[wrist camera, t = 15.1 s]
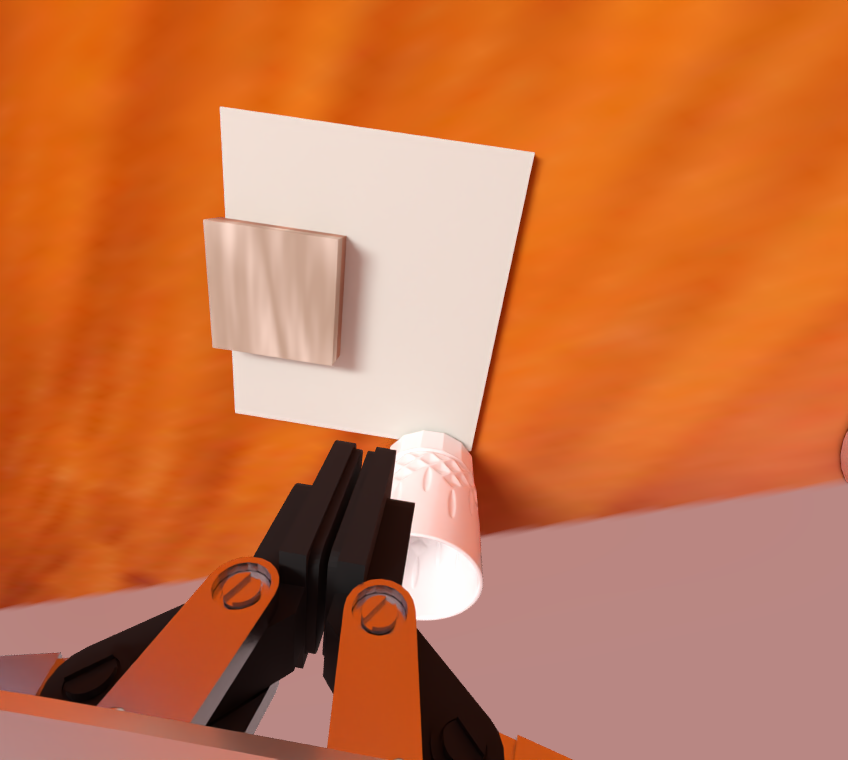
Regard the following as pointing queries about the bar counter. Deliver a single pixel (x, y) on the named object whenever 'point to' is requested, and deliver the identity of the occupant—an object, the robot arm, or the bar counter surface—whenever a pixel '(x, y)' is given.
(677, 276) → the bar counter surface
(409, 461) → the white cup
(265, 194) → the mat
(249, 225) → the tile
